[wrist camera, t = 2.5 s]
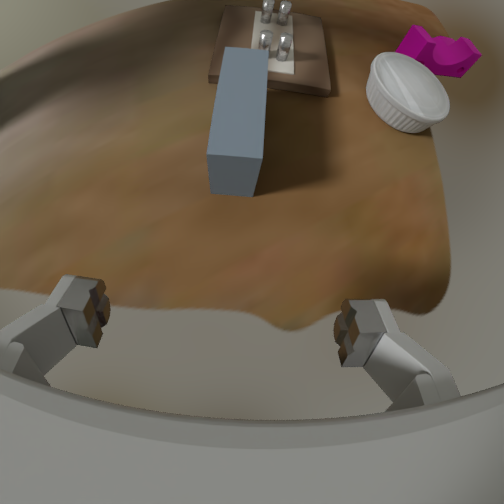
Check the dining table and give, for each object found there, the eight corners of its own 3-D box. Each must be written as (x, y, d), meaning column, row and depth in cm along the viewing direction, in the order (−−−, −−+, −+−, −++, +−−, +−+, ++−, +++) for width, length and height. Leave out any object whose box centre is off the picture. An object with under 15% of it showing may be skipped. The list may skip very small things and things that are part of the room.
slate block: (210, 193, 29) (206, 154, 21) (223, 97, 31) (225, 46, 23) (252, 197, 29) (262, 158, 21) (259, 100, 31) (268, 50, 23)
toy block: (442, 52, 38) (460, 29, 31) (460, 78, 37) (481, 55, 30) (384, 45, 36) (403, 14, 28) (404, 72, 35) (427, 42, 28)
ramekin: (343, 98, 32) (358, 72, 27) (377, 63, 34) (392, 40, 29) (414, 157, 32) (438, 137, 27) (438, 113, 34) (457, 94, 29)
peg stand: (208, 83, 31) (207, 50, 25) (225, 12, 34) (226, -16, 28) (327, 97, 32) (341, 68, 26) (318, 24, 35) (327, -2, 29)
